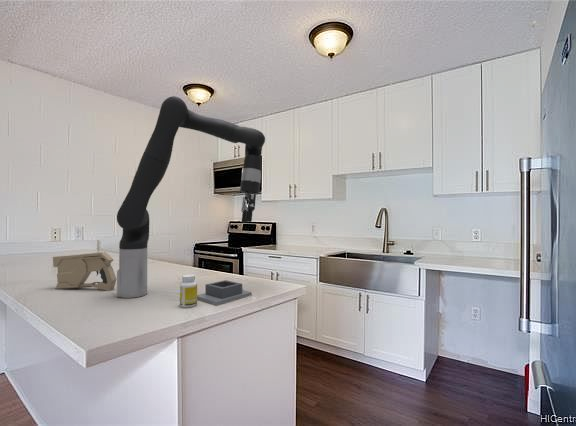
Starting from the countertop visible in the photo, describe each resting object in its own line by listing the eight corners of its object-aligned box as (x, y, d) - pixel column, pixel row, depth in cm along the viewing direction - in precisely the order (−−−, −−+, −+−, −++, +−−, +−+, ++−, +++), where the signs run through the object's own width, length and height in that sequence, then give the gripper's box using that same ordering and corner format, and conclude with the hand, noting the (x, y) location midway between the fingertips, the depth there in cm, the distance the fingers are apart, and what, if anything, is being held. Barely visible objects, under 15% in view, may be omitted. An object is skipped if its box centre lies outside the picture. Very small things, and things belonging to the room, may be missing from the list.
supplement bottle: (200, 303, 100) (200, 274, 100) (190, 308, 95) (190, 277, 95) (186, 302, 102) (187, 273, 102) (176, 307, 97) (176, 276, 97)
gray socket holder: (216, 305, 98) (216, 291, 98) (194, 299, 106) (194, 285, 106) (251, 295, 111) (251, 282, 111) (230, 290, 118) (230, 278, 118)
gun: (118, 288, 119) (115, 251, 119) (112, 291, 116) (109, 252, 116) (61, 292, 122) (58, 255, 122) (54, 294, 118) (51, 256, 118)
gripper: (238, 182, 124) (234, 221, 123) (244, 176, 111) (239, 220, 109) (256, 185, 127) (252, 223, 125) (264, 179, 113) (259, 222, 112)
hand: (246, 222), depth 117 cm, fingers open, 8 cm apart
